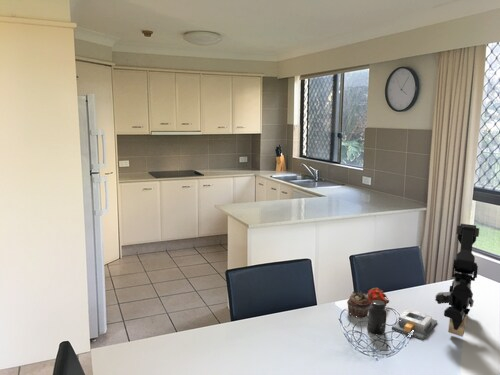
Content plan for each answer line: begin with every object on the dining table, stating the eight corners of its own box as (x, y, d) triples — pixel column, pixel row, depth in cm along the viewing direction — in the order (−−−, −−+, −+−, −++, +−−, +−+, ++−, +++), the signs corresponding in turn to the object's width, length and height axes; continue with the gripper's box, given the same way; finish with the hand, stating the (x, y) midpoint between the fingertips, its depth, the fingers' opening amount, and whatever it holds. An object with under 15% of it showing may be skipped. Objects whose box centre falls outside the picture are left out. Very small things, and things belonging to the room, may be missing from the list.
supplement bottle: (386, 336, 164) (388, 307, 162) (367, 334, 165) (370, 305, 163) (384, 328, 171) (386, 299, 169) (366, 325, 172) (368, 297, 170)
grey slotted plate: (407, 313, 184) (408, 304, 183) (436, 322, 176) (437, 313, 176) (391, 328, 170) (392, 319, 169) (422, 339, 163) (423, 329, 162)
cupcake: (374, 315, 181) (376, 293, 179) (358, 321, 176) (360, 298, 174) (357, 306, 189) (358, 285, 187) (341, 311, 183) (343, 290, 182)
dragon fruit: (369, 302, 197) (384, 317, 186) (358, 294, 194) (372, 309, 183) (381, 288, 197) (396, 303, 186) (370, 280, 193) (385, 294, 182)
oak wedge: (450, 329, 168) (452, 310, 166) (464, 333, 165) (466, 314, 163) (448, 332, 165) (450, 312, 164) (462, 336, 162) (464, 317, 161)
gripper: (446, 277, 174) (441, 313, 177) (431, 291, 160) (427, 329, 163) (476, 285, 167) (471, 322, 170) (464, 300, 153) (459, 340, 156)
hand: (456, 327), depth 165 cm, fingers closed on oak wedge, 3 cm apart
